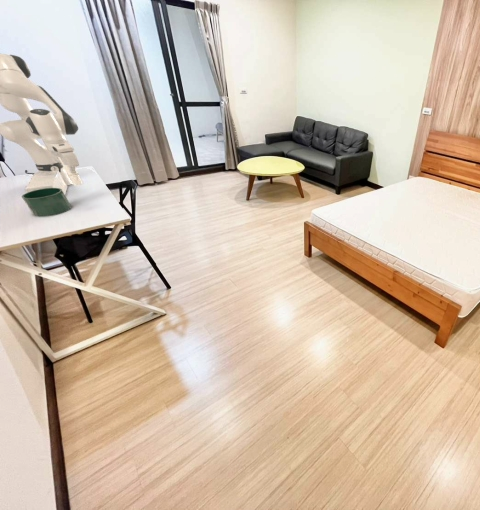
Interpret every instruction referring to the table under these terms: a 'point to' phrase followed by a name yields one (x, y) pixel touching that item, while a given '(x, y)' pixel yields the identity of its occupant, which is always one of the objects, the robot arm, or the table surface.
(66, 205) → the pot
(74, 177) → the tube
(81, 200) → the table surface
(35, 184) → the cream long block
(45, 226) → the table surface
